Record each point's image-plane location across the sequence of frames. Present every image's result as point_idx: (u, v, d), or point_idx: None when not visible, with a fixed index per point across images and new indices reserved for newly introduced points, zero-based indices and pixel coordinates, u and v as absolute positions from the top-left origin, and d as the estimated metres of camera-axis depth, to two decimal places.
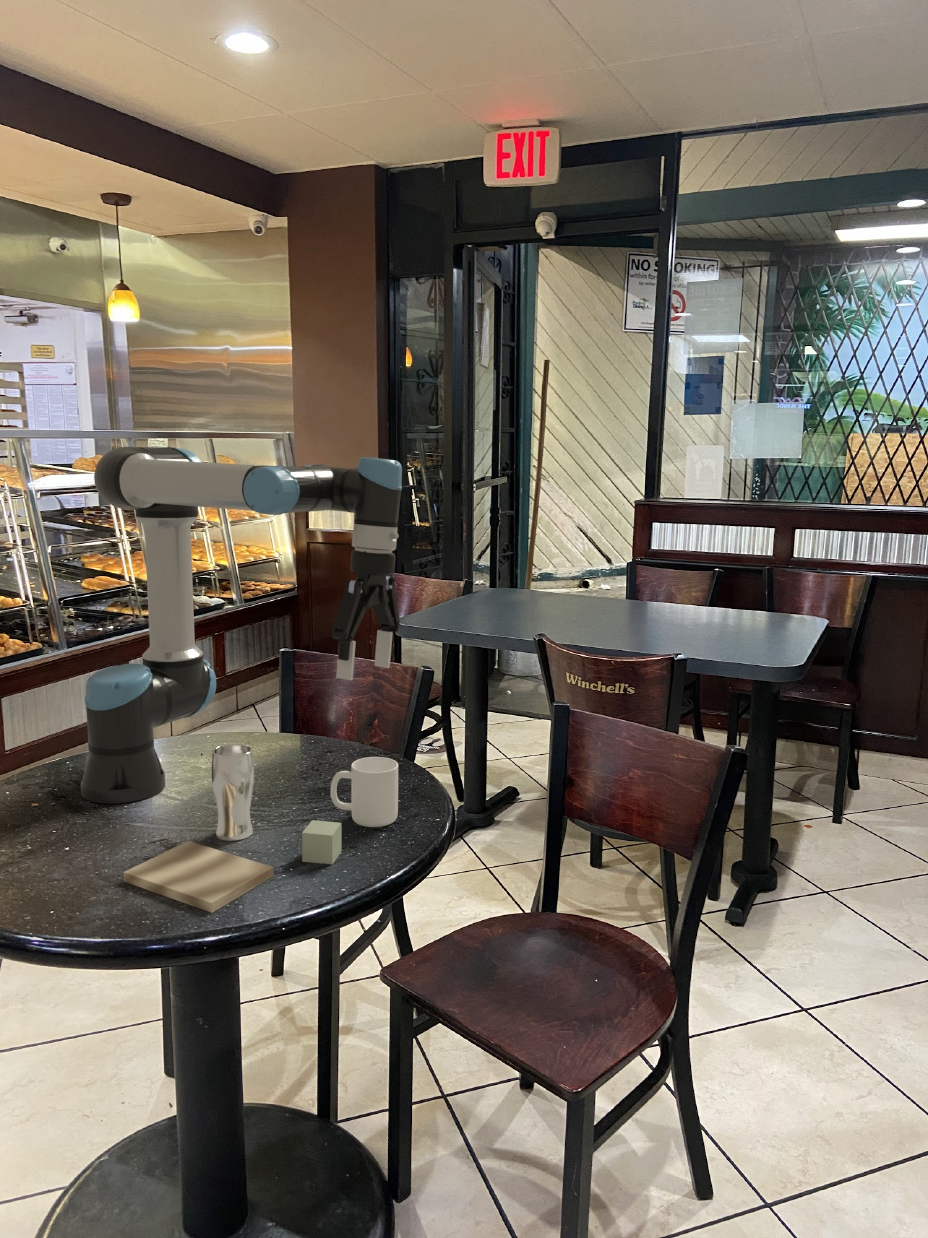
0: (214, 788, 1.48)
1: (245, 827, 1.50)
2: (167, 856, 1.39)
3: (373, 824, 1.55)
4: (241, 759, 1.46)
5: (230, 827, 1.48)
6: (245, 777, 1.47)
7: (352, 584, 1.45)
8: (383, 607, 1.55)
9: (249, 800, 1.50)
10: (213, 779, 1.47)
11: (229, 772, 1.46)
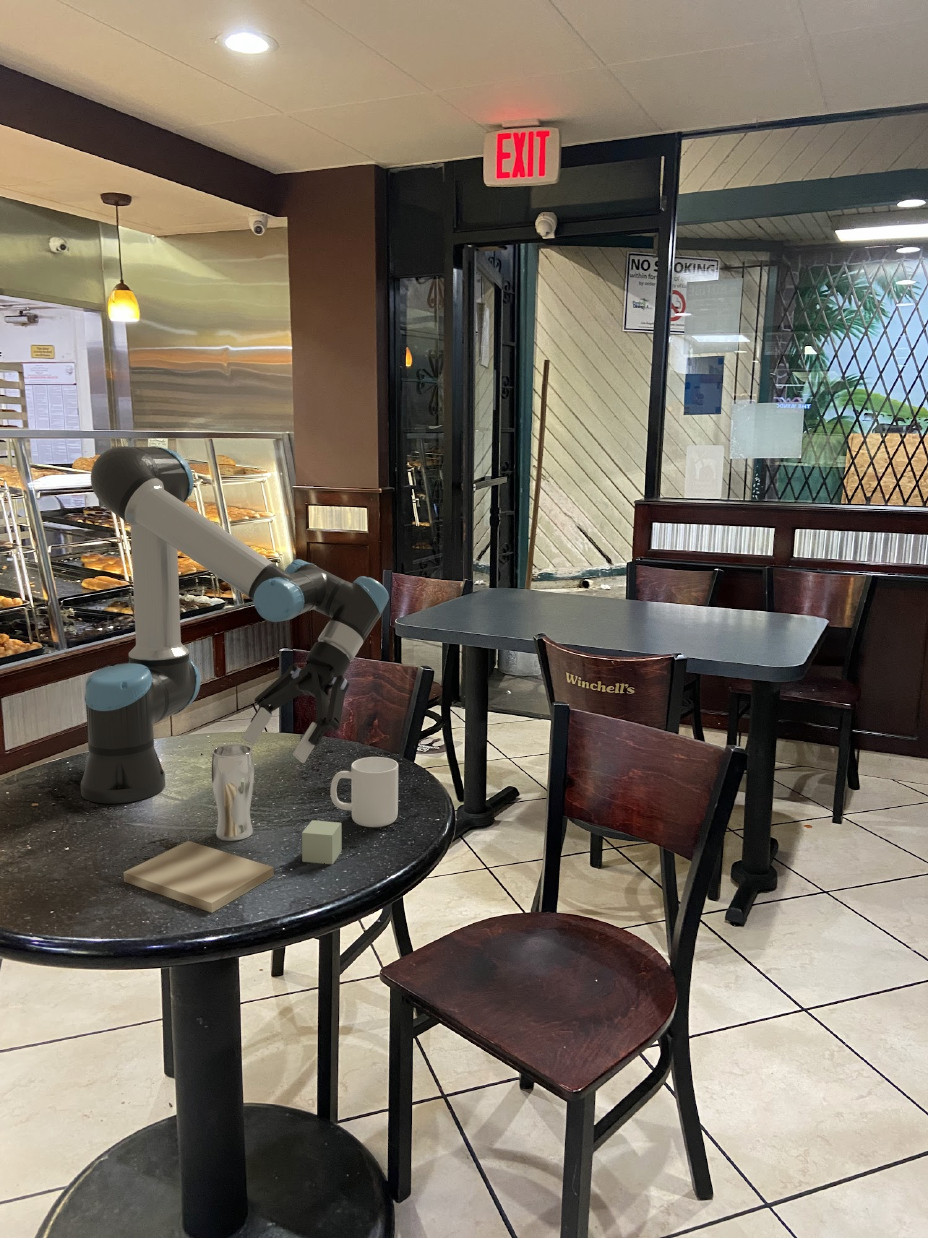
0: (214, 788, 1.48)
1: (245, 827, 1.50)
2: (167, 856, 1.39)
3: (373, 824, 1.55)
4: (241, 759, 1.46)
5: (230, 827, 1.48)
6: (245, 777, 1.47)
7: (345, 682, 1.56)
8: (295, 696, 1.61)
9: (249, 800, 1.50)
10: (213, 779, 1.47)
11: (229, 772, 1.46)
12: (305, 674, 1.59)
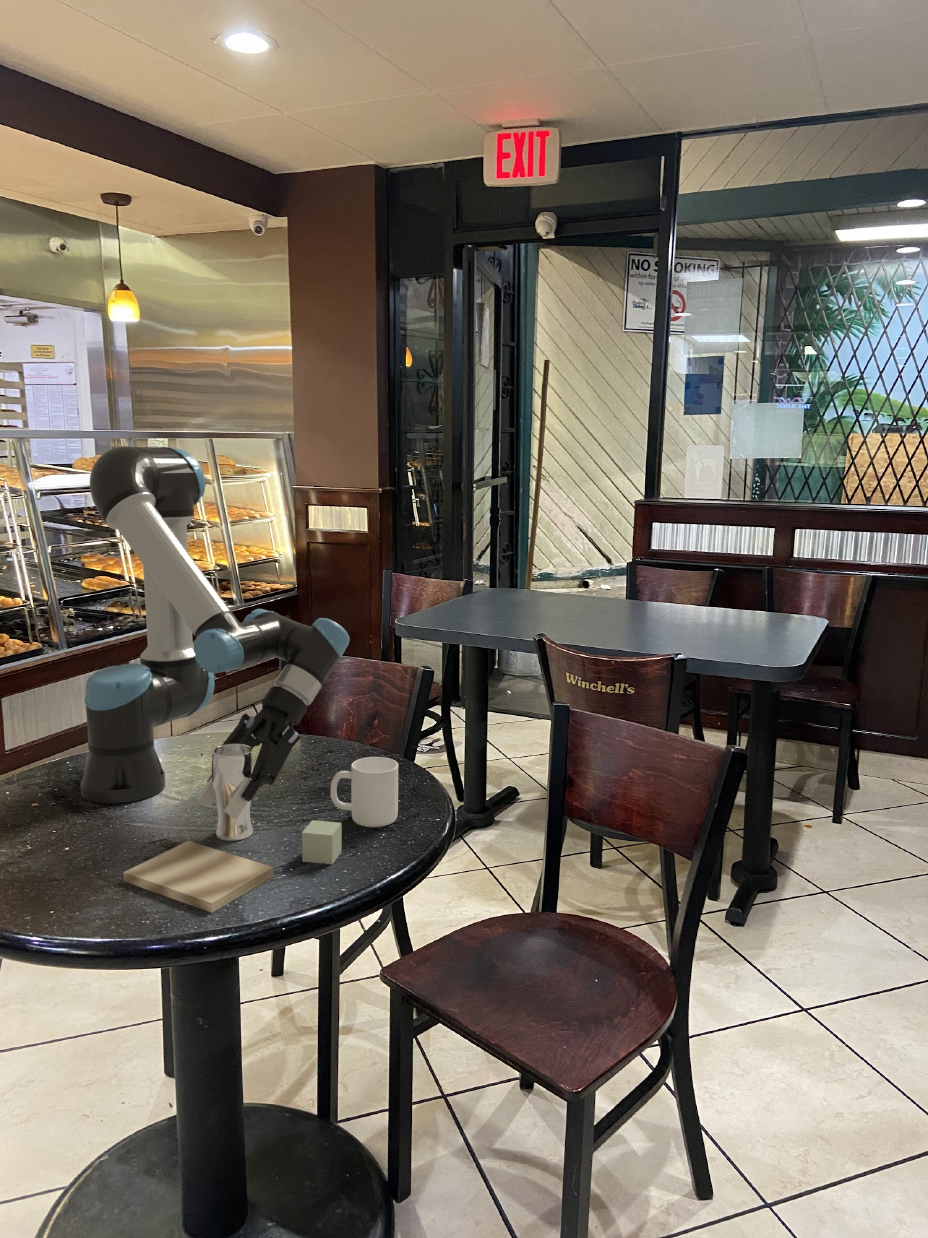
0: (214, 788, 1.48)
1: (245, 827, 1.50)
2: (167, 856, 1.39)
3: (373, 824, 1.55)
4: (241, 759, 1.46)
5: (230, 827, 1.48)
6: (245, 777, 1.47)
7: (295, 736, 1.50)
8: (253, 746, 1.55)
9: None
10: (213, 779, 1.47)
11: (229, 772, 1.46)
12: (260, 720, 1.54)
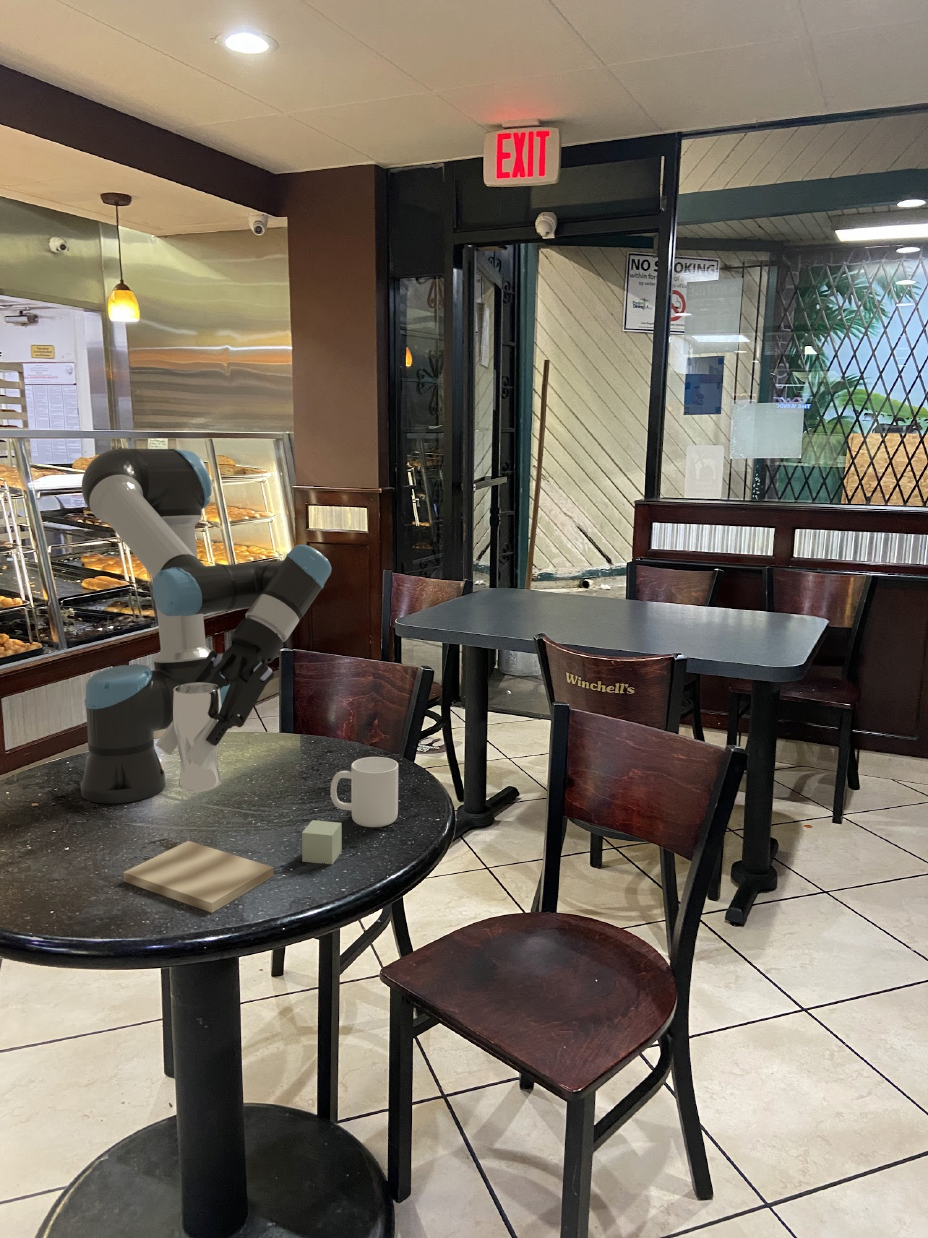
0: (176, 731, 1.29)
1: (212, 776, 1.31)
2: (167, 856, 1.39)
3: (373, 824, 1.55)
4: (206, 697, 1.28)
5: (194, 776, 1.30)
6: (211, 718, 1.29)
7: (269, 672, 1.32)
8: (221, 686, 1.36)
9: (216, 745, 1.31)
10: (174, 721, 1.29)
11: (192, 712, 1.27)
12: (229, 656, 1.35)
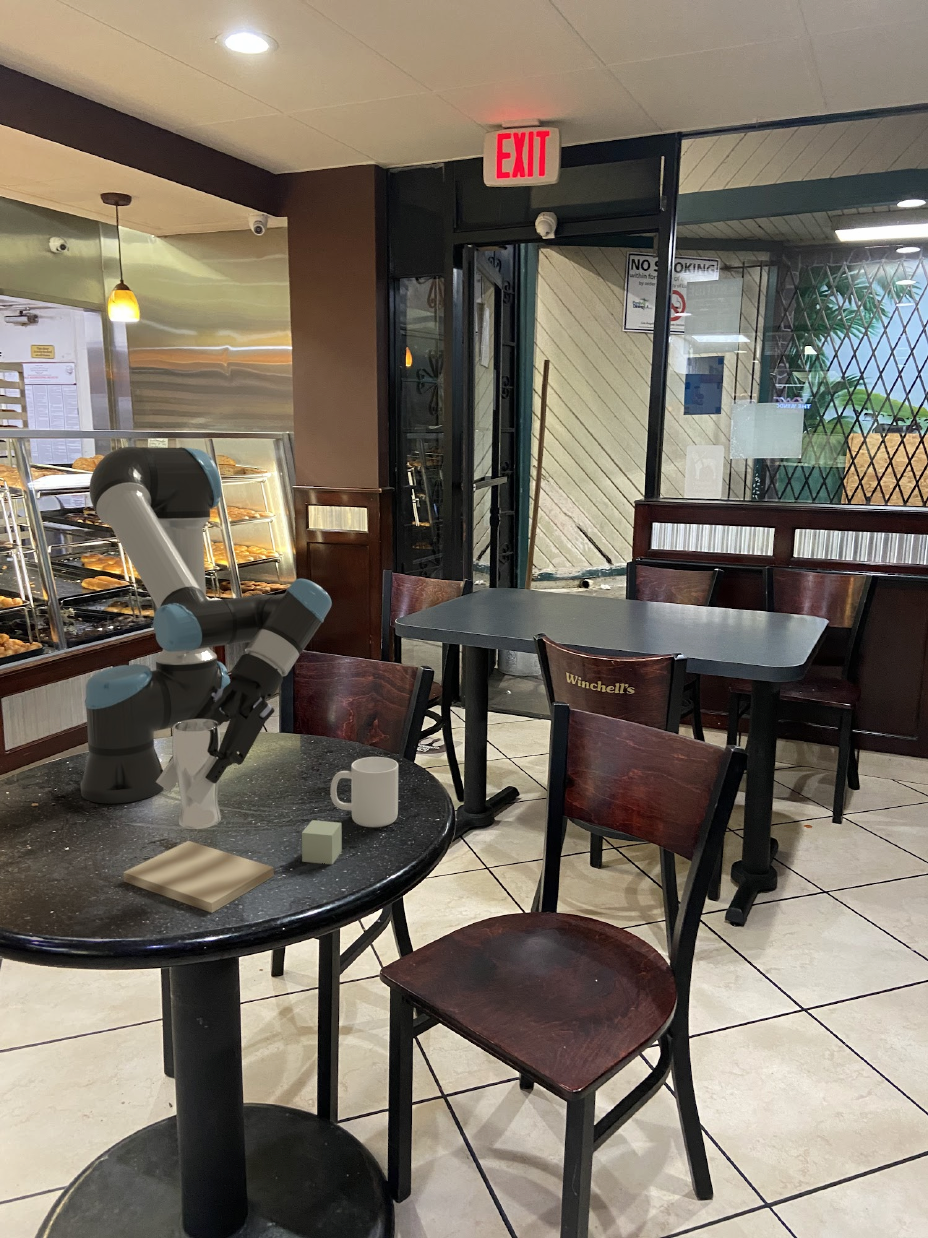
0: (175, 768, 1.29)
1: (212, 813, 1.31)
2: (167, 856, 1.39)
3: (373, 824, 1.55)
4: (206, 735, 1.28)
5: (194, 813, 1.30)
6: None
7: (268, 709, 1.32)
8: (221, 722, 1.36)
9: (216, 782, 1.31)
10: (174, 758, 1.29)
11: (191, 750, 1.28)
12: (229, 692, 1.35)
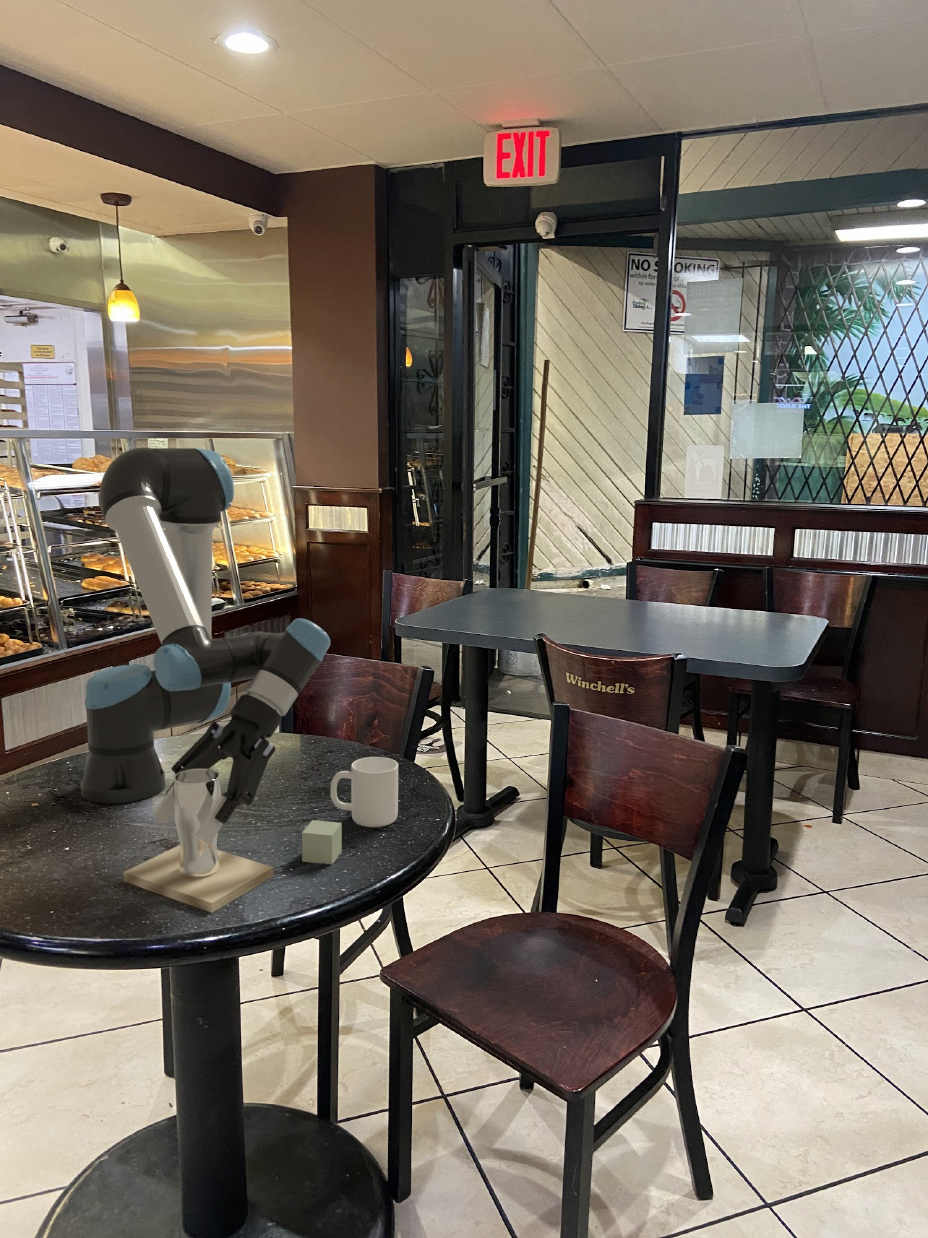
0: (176, 819, 1.31)
1: (211, 862, 1.33)
2: (167, 856, 1.39)
3: (373, 824, 1.55)
4: (206, 786, 1.30)
5: (194, 862, 1.32)
6: (210, 806, 1.31)
7: (270, 747, 1.34)
8: (218, 760, 1.39)
9: None
10: (174, 809, 1.31)
11: (191, 801, 1.30)
12: (228, 733, 1.37)
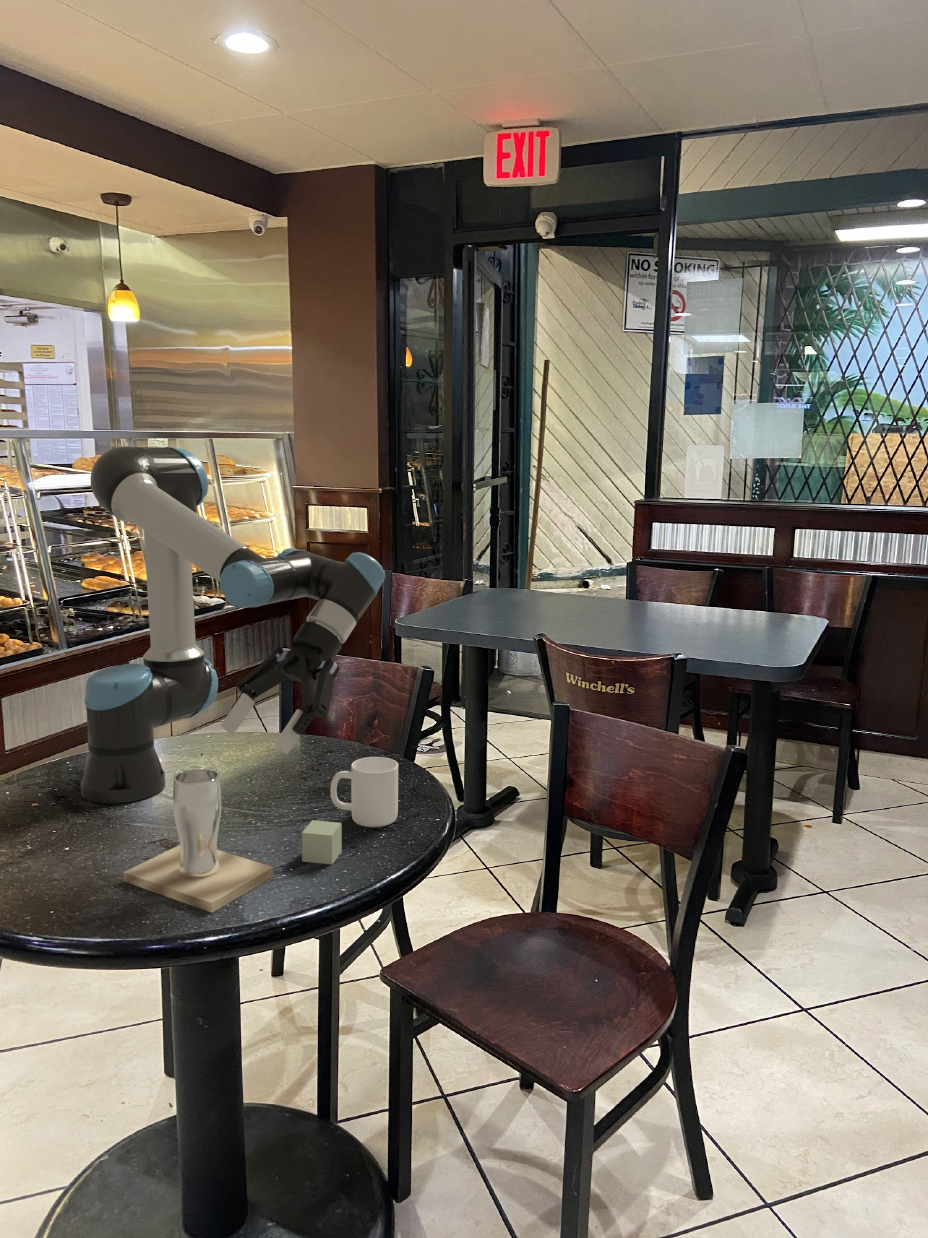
0: (176, 819, 1.31)
1: (211, 862, 1.33)
2: (167, 856, 1.39)
3: (373, 824, 1.55)
4: (206, 787, 1.30)
5: (194, 863, 1.32)
6: (211, 807, 1.31)
7: (335, 666, 1.42)
8: (281, 681, 1.47)
9: (216, 832, 1.33)
10: (175, 809, 1.31)
11: (192, 802, 1.30)
12: (291, 657, 1.45)
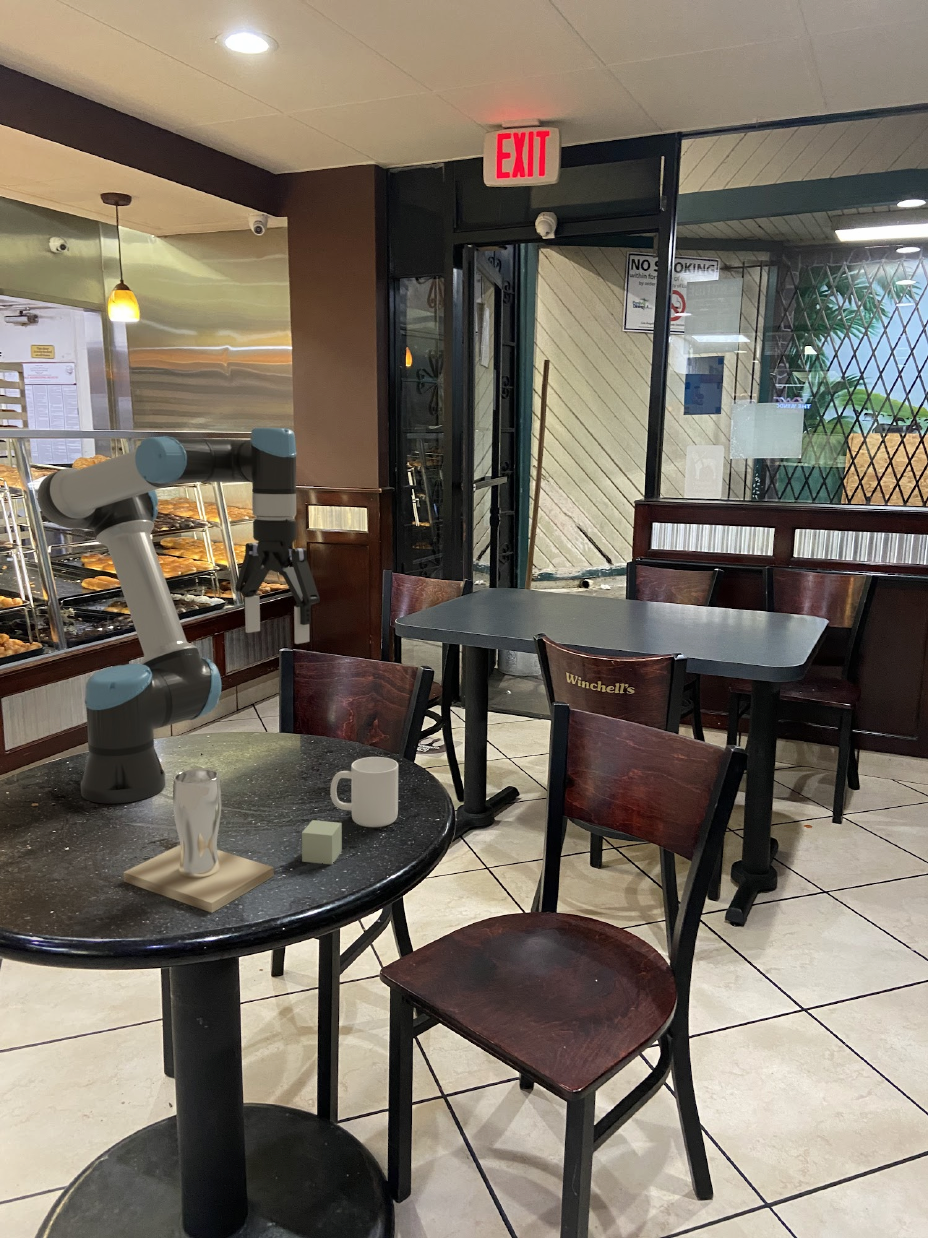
0: (176, 819, 1.31)
1: (211, 862, 1.33)
2: (167, 856, 1.39)
3: (373, 824, 1.55)
4: (206, 787, 1.30)
5: (194, 863, 1.32)
6: (210, 807, 1.31)
7: (301, 551, 1.52)
8: (267, 572, 1.60)
9: (216, 832, 1.33)
10: (174, 809, 1.31)
11: (191, 802, 1.30)
12: (262, 556, 1.55)
